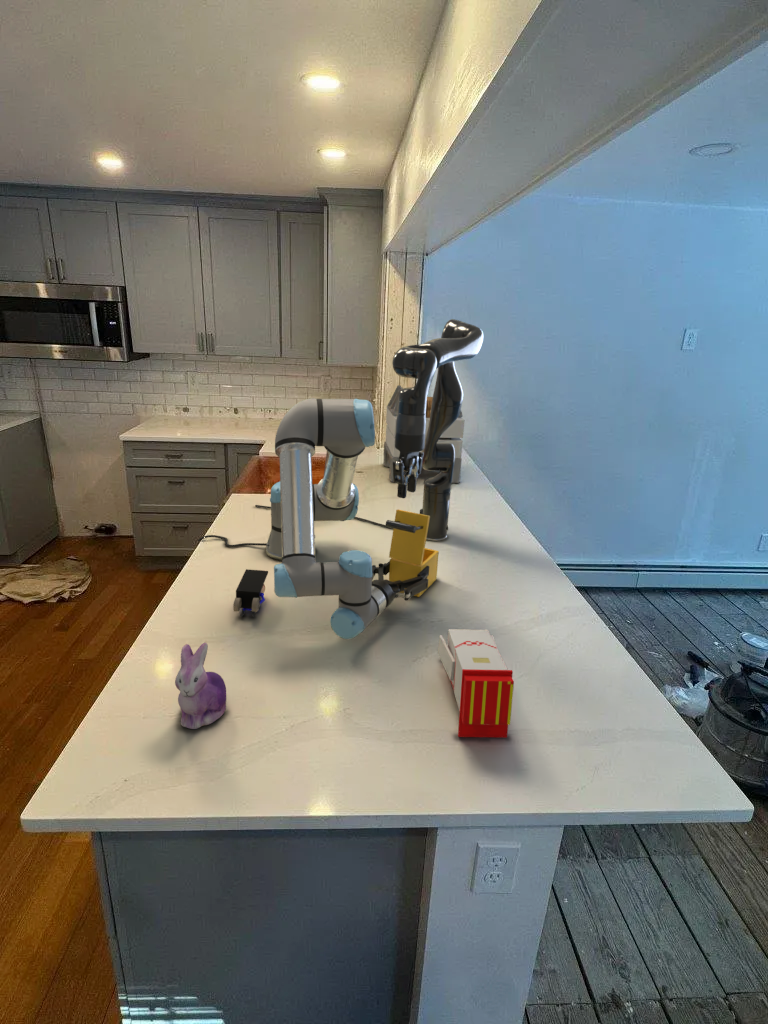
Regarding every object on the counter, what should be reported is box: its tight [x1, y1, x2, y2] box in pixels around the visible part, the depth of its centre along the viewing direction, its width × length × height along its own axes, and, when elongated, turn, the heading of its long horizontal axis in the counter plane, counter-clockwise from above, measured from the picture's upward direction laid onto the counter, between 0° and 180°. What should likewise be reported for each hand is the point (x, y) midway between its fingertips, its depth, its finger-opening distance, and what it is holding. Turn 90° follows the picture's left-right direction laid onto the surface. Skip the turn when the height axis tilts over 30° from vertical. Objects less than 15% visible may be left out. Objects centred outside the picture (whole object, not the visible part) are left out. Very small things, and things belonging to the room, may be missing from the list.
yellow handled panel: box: [385, 509, 430, 565], centre depth 151 cm, size 14×10×9 cm
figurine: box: [174, 642, 227, 730], centre depth 106 cm, size 9×10×15 cm
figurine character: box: [232, 568, 269, 617], centre depth 147 cm, size 7×8×15 cm
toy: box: [437, 628, 515, 738], centre depth 117 cm, size 12×13×30 cm
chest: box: [388, 547, 439, 598], centre depth 162 cm, size 13×10×9 cm
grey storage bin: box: [383, 384, 465, 484], centre depth 268 cm, size 34×33×41 cm
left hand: (411, 566), depth 160 cm, fingers closed on chest, 9 cm apart
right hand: (406, 494), depth 148 cm, fingers open, 5 cm apart
